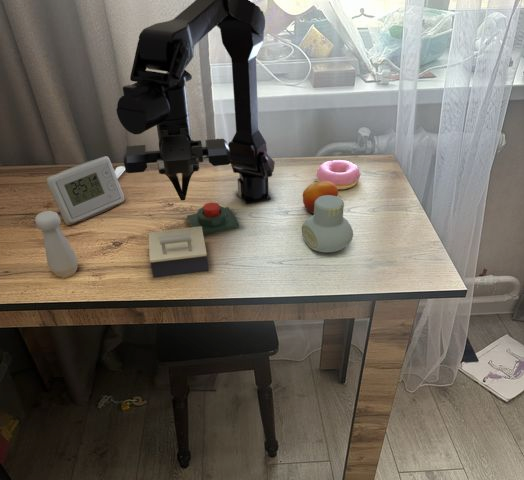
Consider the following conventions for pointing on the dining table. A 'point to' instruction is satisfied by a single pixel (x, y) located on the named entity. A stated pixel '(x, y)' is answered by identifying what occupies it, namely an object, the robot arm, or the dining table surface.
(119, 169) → the spoon
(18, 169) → the dining table surface
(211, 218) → the alarm box
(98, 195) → the digital clock
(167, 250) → the beige panel
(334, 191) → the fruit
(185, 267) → the dark rimmed tray
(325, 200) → the air freshener
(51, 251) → the salt shaker
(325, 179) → the doughnut
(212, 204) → the alarm button
